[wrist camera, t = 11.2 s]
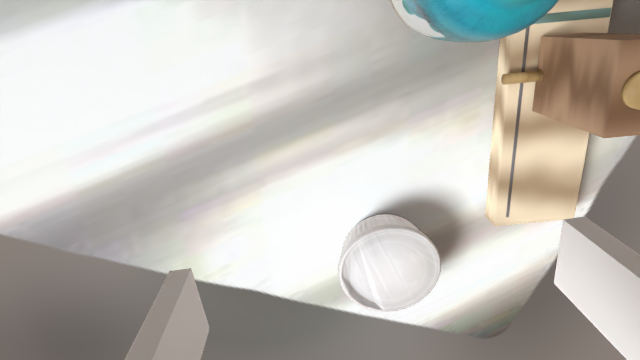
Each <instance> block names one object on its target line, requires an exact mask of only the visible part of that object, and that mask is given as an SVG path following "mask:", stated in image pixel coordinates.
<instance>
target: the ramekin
mask: <svg viewBox="0 0 640 360" xmlns="http://www.w3.org/2000/svg"><path fill="white" fill-rule="evenodd" d="M440 272H441V260H440V255H439V253H438V250H437V248H436V247H435V245H434V244H433V242H432V241H431V240H430V238H429V237H428V236H426V235H425V234H424V233H423V232H421V231H420V230H419V229H418V228H417V227H416V226H415V225H413V224H412V223H411V222H410V221H408V220H407V219H404V218H402V217H399V216H396V215H391V214H384V215H375V216H372V217H369V218H367V219H364V220H363V221H361V222H359V223H358V224H357V225H356V226H355V227H354V228H353V229H352V230H351V231H350V232H349V234H348V236H347V237H346V240H345V241H344V245H343V249H342V254H341V256H340V259H339V264H338V275H339V280H340V284H341V286H342V288H343V290H344V292H345V293H346V295H347V296H348V297H349V298H350V299H351V300H352V301H354V302H355V303H357V304H358V305H360V306H362V307H364V308H367V309H370V310H374V311H381V312H389V311H397V310H401V309H405V308H407V307H410V306H412V305H414V304H416V303H418V302H419V301H421V300H422V299H423V298H424V297H425V296H427V295H428V294H429V293H430V291H431V290H432V289H433V288H434V286H435V284H436V282H437V280H438V278H439V275H440Z"/></svg>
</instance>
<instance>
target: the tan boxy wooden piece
mask: <svg viewBox="0 0 640 360" xmlns="http://www.w3.org/2000/svg"><path fill="white" fill-rule="evenodd" d="M501 82H502V84H503V85H506V84H517V83H527V82H535V91H534V99H533V107H532V111H533V112H536V113H539V114H541V115H544V116H547V117H549V118H552V119H555V120H557V121H560V122H563V123H565V124H568V125H571V126H573V127H576V128H579V129H581V130H584V131H587V132H589V133H592V134H594V135H597V136H600V137H602V138H611V137H621V136H632V135H640V34H620V33H573V34H562V35H551V36H541V41H540V49H539V58H538V66H537V71H529V72H518V73H508V74H503V75H502V77H501Z"/></svg>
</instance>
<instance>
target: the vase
mask: <svg viewBox="0 0 640 360" xmlns="http://www.w3.org/2000/svg"><path fill="white" fill-rule="evenodd" d="M558 1H559V0H391V3H392V5H393V8H394V9H395V11H396V13H397V14H398V16H399V17H400V18H401V19H402V20H403V22H404V23H406V24H407V25H408V26H409V27H410V28H412V29H414V30H415V31H417V32H419V33H421V34H423V35H426V36H429V37H432V38H434V39H439V40H445V41H452V42H484V41H490V40H495V39H500V38H504V37H507V36H510V35H512V34H515V33H518V32H520V31H522V30H524V29H526V28H528V27H529V26H531V25H532V24H534V23H535V22H537V21H538V20H540V19H541V18H542V17H543V16H544V15H545V14H547V13H548V12H549V11H550V10H551V9H552V8H553V7H554V6H555V4H556V3H557V2H558Z"/></svg>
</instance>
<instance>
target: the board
mask: <svg viewBox="0 0 640 360" xmlns="http://www.w3.org/2000/svg"><path fill="white" fill-rule="evenodd" d="M612 6H613V0H559V1H558V2H557V3H556V4H555V6H554V7H553V8H552V9H551V10H550V11H549V12H548V13H547V14H545V15H544V16H543V17H542V18H541V19H540V20H538V21H537V22H535V23H534V24H532V25H531V26H529V27H528V28H526V29H524V30H522V31H520V32H518V33H515V34H512V35H510V36H507V37H504V38H500V47H499V59H498V70H497V82H496V94H495V106H494V118H493V130H492V142H491V154H490V166H489V178H488V190H487V201H486V213H485V216H486V217H487V218H488V219H489V220H490V221H491V222H492V224H493V225H494V226H501V225H512V224H522V223H533V222H544V221H554V220H564V219H571V218H574V216H575V210H576V205H577V199H578V194H579V188H580V183H581V177H582V172H583V166H584V161H585V155H586V149H587V144H588V138H589V132H587V131H584V130H581V129H579V128H576V127H573V126H571V125H568V124H565V123H563V122H560V121H557V120H555V119H552V118H549V117H547V116H544V115H541V114H539V113H536V112H533V111H532V107H533V99H534V91H535V82H527V83H517V84H506V85H503V84H502V82H501V77H502V75H503V74H508V73H518V72H529V71H537V66H538V58H539V49H540V41H541V36H551V35H562V34H573V33H608V28H609V22H610V17H611V11H612Z"/></svg>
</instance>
